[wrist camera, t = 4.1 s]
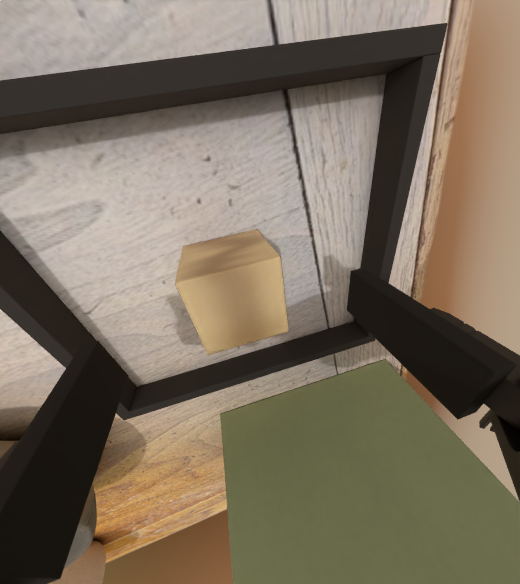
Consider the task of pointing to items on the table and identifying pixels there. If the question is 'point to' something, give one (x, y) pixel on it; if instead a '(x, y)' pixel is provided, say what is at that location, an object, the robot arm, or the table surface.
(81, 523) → the bowl
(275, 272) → the toy block
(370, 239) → the rim tray
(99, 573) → the planter
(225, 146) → the table surface
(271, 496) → the stand
